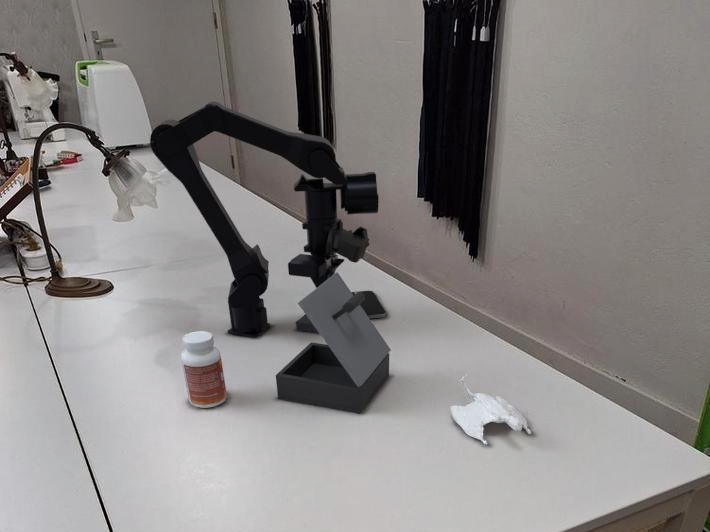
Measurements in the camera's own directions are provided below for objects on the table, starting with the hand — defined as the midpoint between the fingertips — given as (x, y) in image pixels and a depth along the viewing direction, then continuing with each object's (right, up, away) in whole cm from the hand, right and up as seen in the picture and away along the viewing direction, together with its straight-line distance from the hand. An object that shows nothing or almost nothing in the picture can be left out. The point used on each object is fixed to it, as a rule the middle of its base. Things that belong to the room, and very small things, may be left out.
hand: (325, 298), depth 128 cm
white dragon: (+25, -27, -28) cm, 46 cm away
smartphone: (+8, +2, +11) cm, 14 cm away
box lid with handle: (+4, -12, -25) cm, 28 cm away
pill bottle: (-19, -23, -21) cm, 36 cm away
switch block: (0, -4, +3) cm, 6 cm away
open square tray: (+2, -20, -18) cm, 27 cm away
